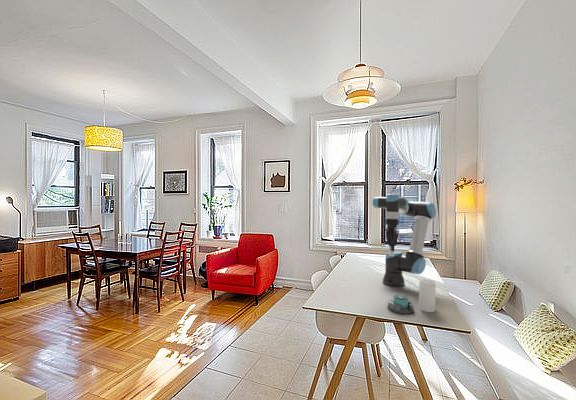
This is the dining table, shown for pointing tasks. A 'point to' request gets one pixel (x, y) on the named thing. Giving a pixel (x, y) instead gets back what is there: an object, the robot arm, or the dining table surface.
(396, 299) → the cap
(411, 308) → the dark grey round bowl
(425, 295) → the cup
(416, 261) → the robot arm
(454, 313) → the dining table surface
